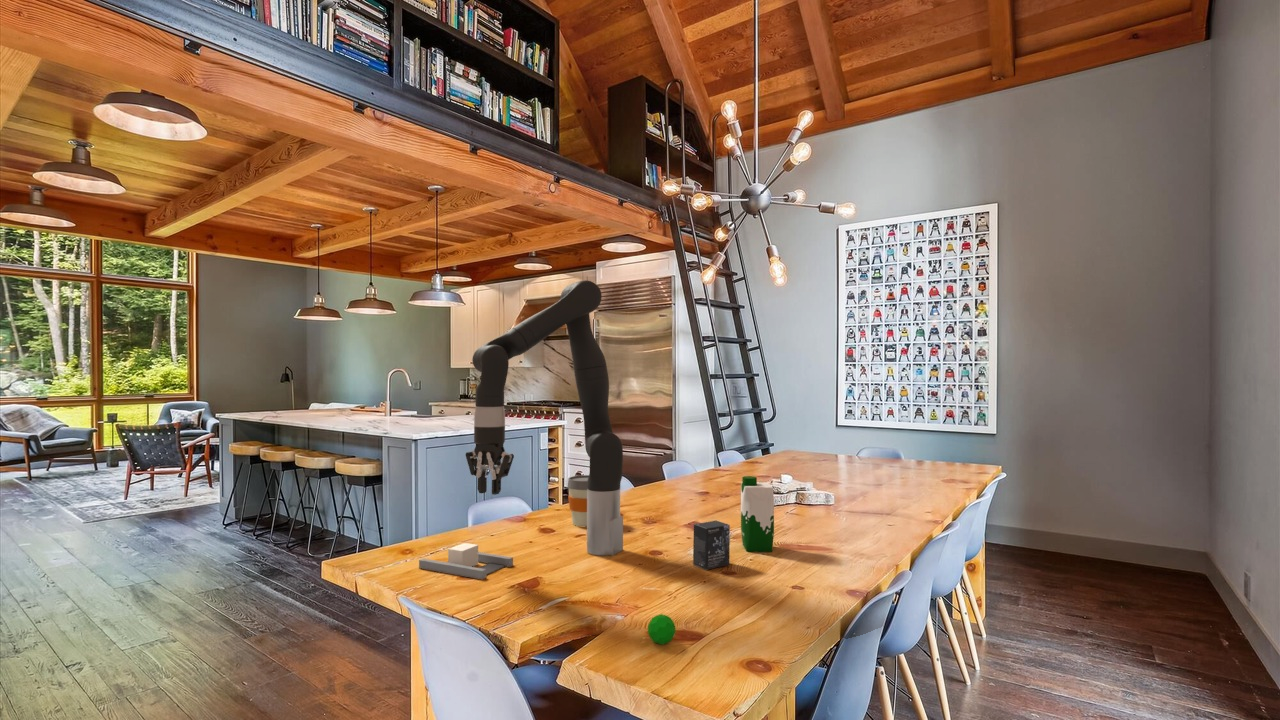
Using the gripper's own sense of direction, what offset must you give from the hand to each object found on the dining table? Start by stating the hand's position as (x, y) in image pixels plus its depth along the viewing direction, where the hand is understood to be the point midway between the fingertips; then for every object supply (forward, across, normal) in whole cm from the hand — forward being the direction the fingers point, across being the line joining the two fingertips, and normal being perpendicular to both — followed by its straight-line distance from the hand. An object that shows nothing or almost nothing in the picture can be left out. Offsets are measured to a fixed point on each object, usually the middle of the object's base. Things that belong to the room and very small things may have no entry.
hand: (489, 493), depth 150 cm
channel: (+19, +7, 0) cm, 20 cm away
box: (+19, -49, -28) cm, 60 cm away
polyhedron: (+19, -55, +19) cm, 61 cm away
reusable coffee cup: (+19, +2, -52) cm, 56 cm away
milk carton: (+19, -56, -48) cm, 76 cm away
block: (+19, +8, 0) cm, 21 cm away
